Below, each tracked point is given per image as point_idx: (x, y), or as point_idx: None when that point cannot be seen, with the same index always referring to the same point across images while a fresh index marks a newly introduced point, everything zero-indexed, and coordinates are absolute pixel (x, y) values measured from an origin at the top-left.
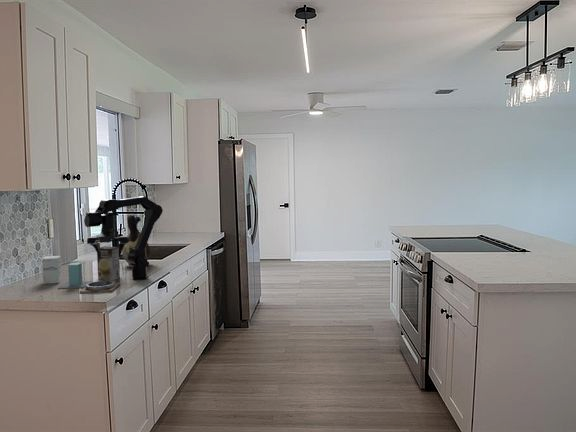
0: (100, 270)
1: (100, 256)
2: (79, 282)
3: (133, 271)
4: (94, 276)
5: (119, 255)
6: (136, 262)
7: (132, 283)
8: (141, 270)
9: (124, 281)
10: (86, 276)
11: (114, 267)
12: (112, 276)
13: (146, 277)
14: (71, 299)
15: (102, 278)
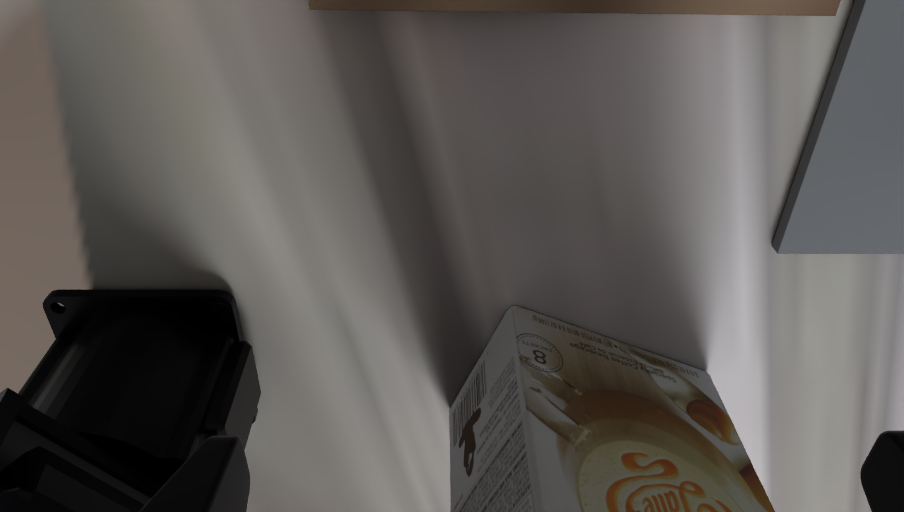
0: (712, 449)
1: (870, 503)
2: None
3: (202, 400)
4: None
5: (186, 478)
6: (20, 481)
7: (136, 77)
8: (51, 394)
9: (322, 223)
10: (839, 491)
11: (502, 470)
12: (516, 338)
13: (56, 339)
14: None
15: (654, 360)
